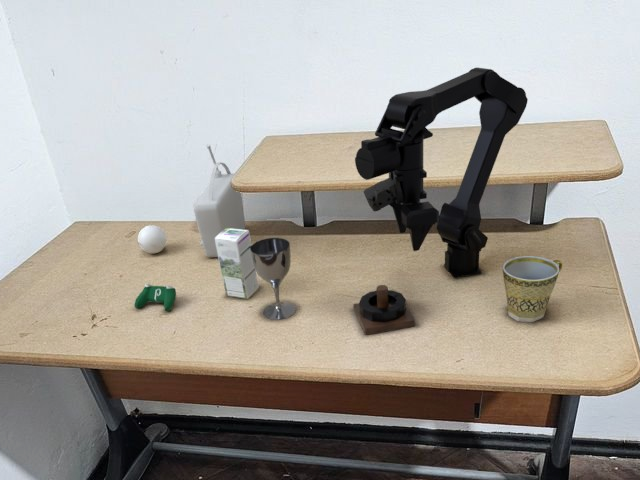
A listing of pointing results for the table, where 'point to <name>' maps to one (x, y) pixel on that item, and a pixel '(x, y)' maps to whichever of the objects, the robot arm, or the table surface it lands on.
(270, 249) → the silver metal goblet
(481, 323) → the table surface
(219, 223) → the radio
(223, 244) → the syrup box
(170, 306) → the gaming controller
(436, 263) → the table surface
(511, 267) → the ceramic cup
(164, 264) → the table surface
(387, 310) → the ring
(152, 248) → the white light bulb
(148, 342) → the table surface
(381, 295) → the peg stand
